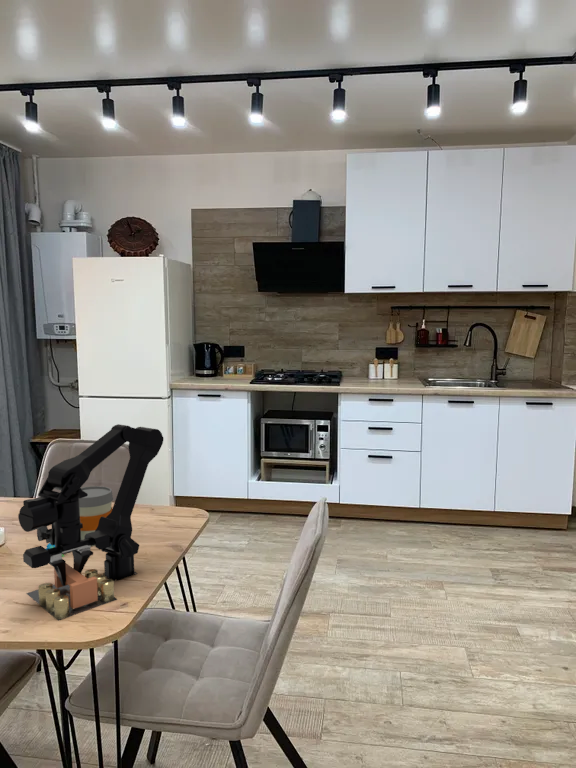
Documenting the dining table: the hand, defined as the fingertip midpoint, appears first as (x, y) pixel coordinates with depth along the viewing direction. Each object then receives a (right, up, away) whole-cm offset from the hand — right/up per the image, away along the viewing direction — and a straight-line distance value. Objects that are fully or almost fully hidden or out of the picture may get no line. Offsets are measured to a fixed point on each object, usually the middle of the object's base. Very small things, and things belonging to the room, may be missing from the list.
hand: (69, 583), depth 138 cm
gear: (-14, -1, +27) cm, 30 cm away
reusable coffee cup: (-7, 0, +36) cm, 37 cm away
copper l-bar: (+1, -2, -1) cm, 3 cm away
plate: (0, -4, 0) cm, 4 cm away
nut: (+3, -3, -2) cm, 5 cm away
